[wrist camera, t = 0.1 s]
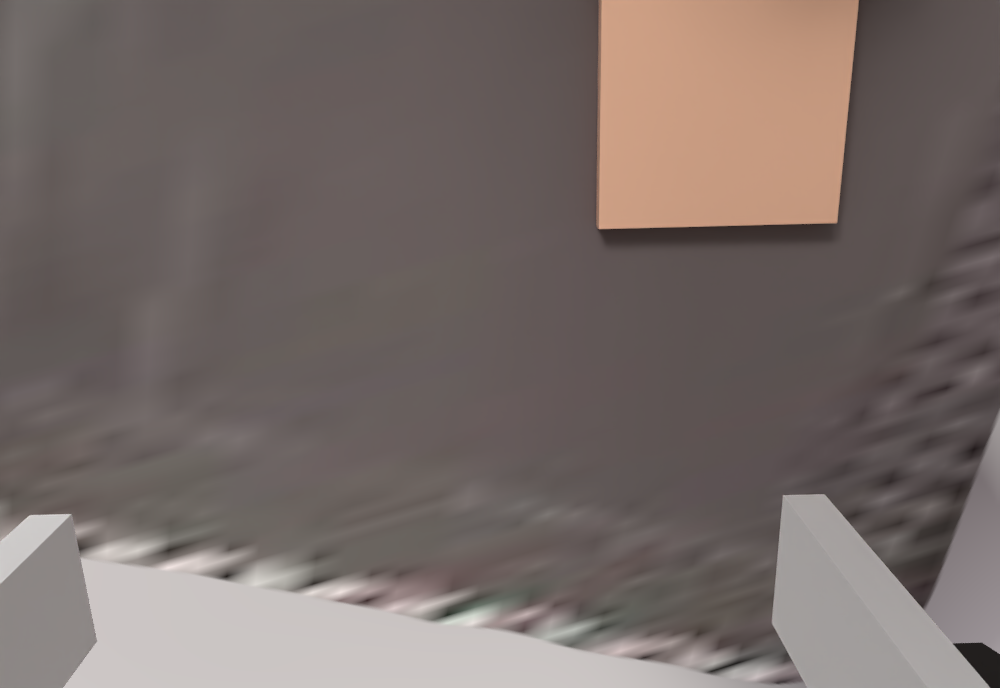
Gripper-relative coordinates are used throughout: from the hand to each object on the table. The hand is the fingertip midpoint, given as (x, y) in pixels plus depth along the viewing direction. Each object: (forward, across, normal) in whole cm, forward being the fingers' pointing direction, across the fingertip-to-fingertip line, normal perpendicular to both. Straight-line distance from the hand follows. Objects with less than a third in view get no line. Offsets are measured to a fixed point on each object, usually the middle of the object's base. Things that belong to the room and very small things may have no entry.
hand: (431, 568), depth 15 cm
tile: (+28, +13, +8) cm, 32 cm away
